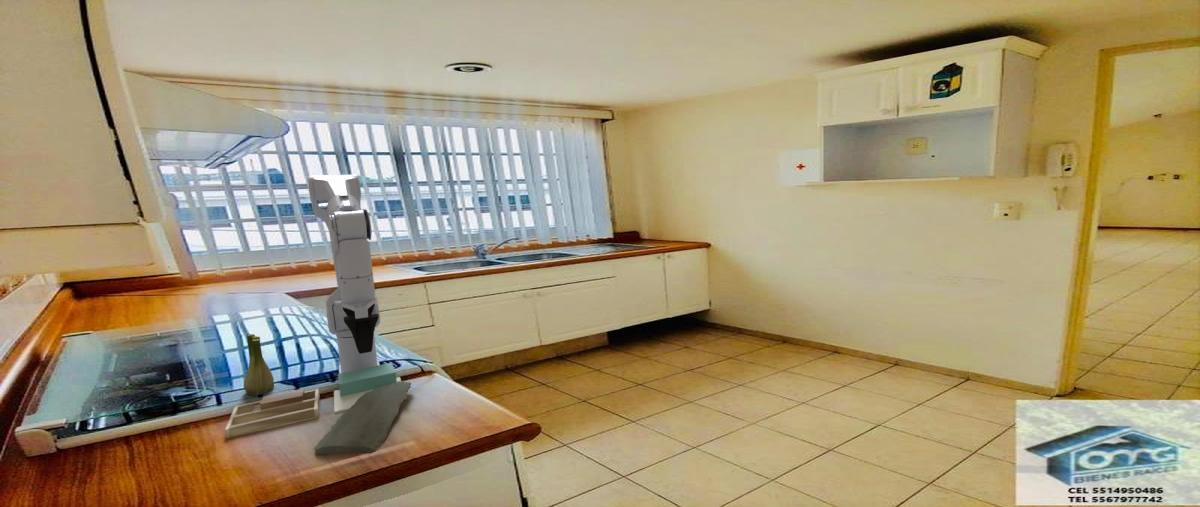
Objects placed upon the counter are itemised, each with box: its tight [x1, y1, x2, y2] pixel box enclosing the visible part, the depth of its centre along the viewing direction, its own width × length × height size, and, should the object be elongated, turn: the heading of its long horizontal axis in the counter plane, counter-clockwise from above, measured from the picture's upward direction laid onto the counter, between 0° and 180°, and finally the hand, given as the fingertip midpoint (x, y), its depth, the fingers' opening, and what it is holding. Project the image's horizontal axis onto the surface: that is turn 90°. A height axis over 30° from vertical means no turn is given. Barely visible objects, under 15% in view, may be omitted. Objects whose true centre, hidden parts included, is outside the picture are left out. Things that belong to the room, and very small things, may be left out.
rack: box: [224, 388, 321, 440], centre depth 86 cm, size 10×13×2 cm
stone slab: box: [313, 380, 412, 456], centre depth 83 cm, size 22×3×10 cm
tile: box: [333, 376, 407, 414], centre depth 93 cm, size 10×12×1 cm
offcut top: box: [260, 388, 305, 410], centre depth 88 cm, size 3×6×1 cm, turn 116°
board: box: [337, 362, 397, 397], centre depth 96 cm, size 2×10×6 cm
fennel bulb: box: [243, 333, 275, 396], centre depth 96 cm, size 6×5×12 cm
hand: (364, 346), depth 91 cm, fingers open, 7 cm apart
